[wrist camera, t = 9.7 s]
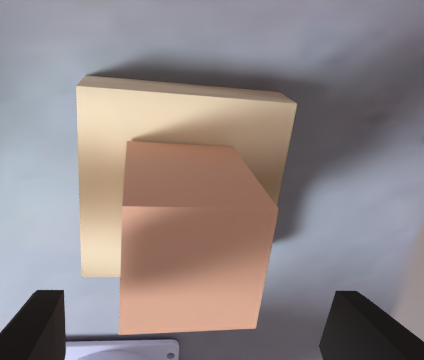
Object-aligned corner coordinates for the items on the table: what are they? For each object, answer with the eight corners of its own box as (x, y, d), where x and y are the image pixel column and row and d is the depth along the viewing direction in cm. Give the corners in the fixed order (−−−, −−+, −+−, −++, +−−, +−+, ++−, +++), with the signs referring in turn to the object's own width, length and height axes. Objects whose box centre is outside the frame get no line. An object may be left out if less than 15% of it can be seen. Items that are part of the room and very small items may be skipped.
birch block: (249, 244, 23) (263, 276, 20) (90, 242, 21) (81, 276, 18) (276, 90, 19) (297, 103, 17) (87, 73, 18) (76, 85, 15)
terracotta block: (220, 236, 19) (255, 328, 13) (123, 236, 18) (118, 334, 12) (232, 146, 17) (278, 209, 11) (126, 140, 16) (122, 206, 11)
